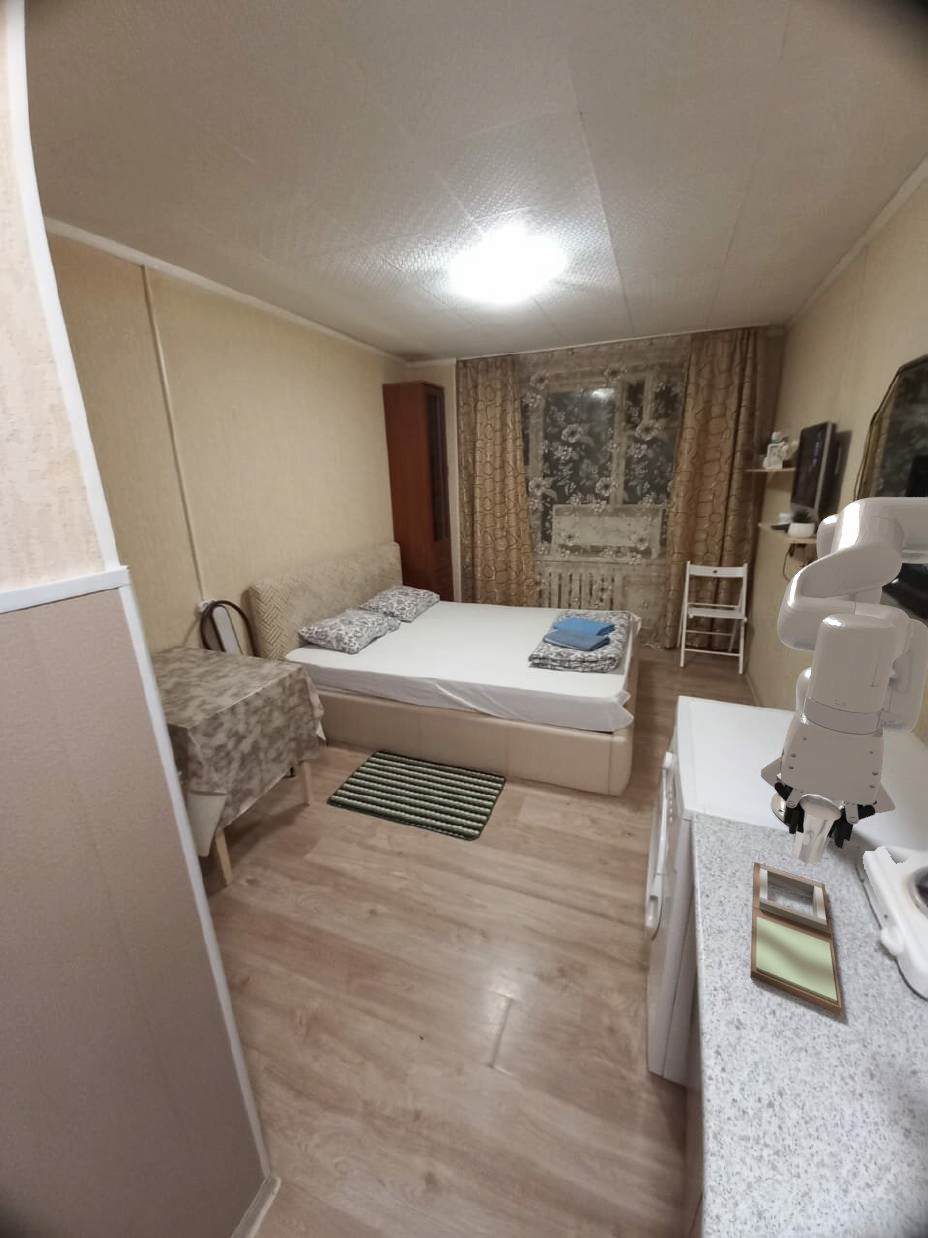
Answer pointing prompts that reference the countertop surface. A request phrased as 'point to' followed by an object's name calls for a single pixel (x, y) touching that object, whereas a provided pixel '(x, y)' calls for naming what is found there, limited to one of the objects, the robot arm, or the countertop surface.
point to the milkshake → (815, 827)
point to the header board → (793, 940)
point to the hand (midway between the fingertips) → (814, 833)
